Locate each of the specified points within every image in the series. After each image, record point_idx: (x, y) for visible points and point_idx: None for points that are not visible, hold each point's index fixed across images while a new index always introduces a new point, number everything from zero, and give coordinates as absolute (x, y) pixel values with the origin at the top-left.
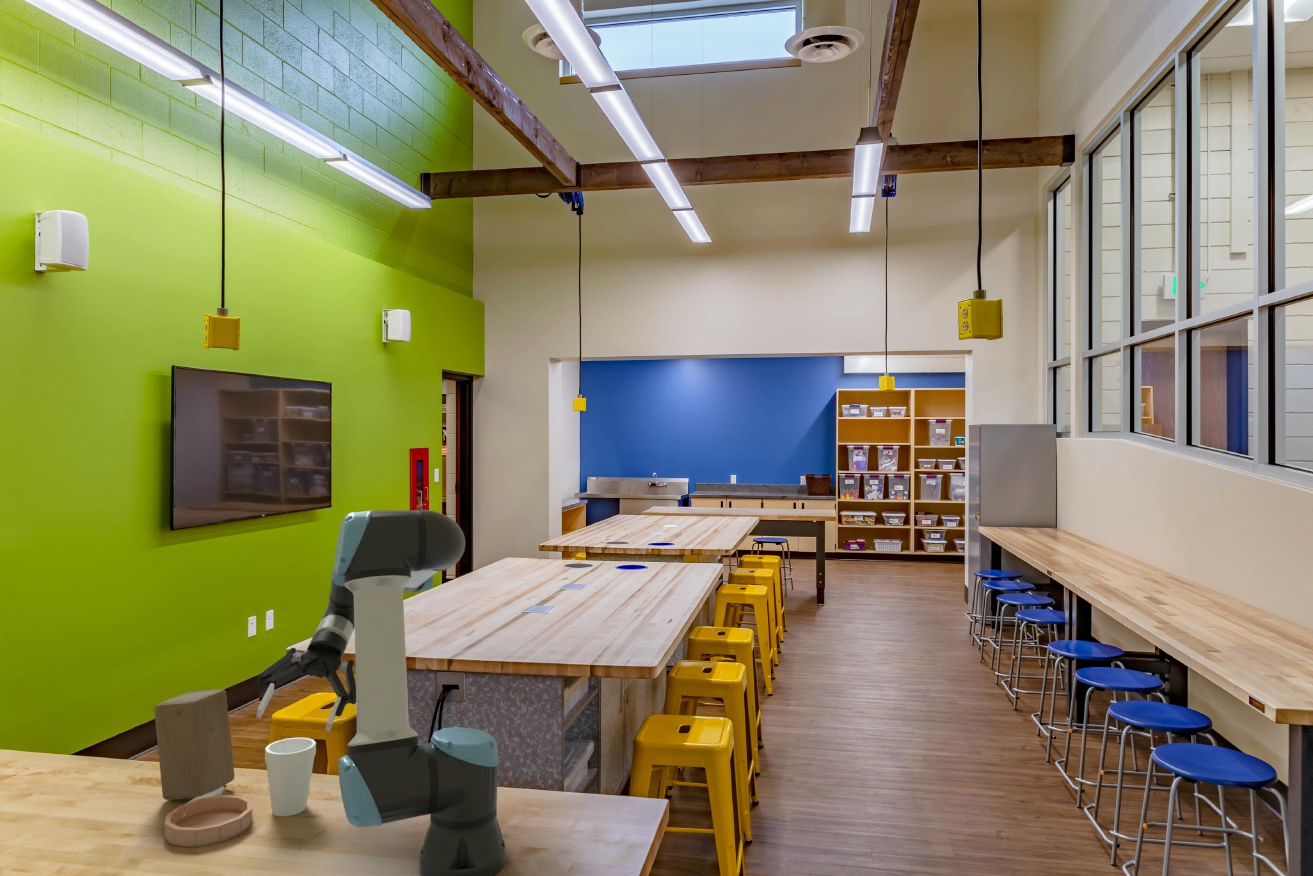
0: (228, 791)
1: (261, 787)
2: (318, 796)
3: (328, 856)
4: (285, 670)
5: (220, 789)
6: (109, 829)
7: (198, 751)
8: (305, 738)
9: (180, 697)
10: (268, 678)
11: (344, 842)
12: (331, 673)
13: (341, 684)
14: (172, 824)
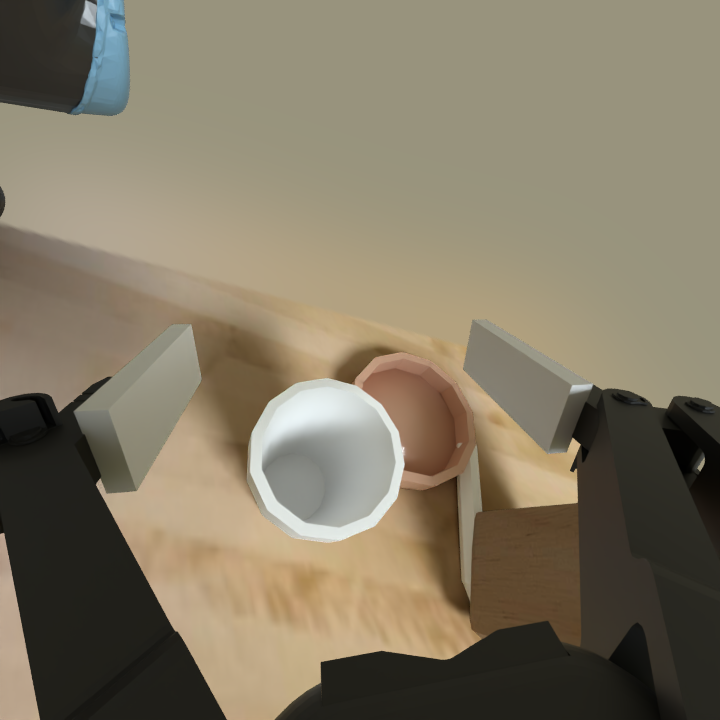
0: (458, 604)
1: (400, 636)
2: (236, 568)
3: (179, 293)
4: (678, 487)
5: (468, 571)
6: (529, 441)
7: (561, 507)
8: (303, 526)
9: None
10: (645, 401)
11: (150, 328)
12: (157, 653)
13: (20, 528)
14: (444, 377)
